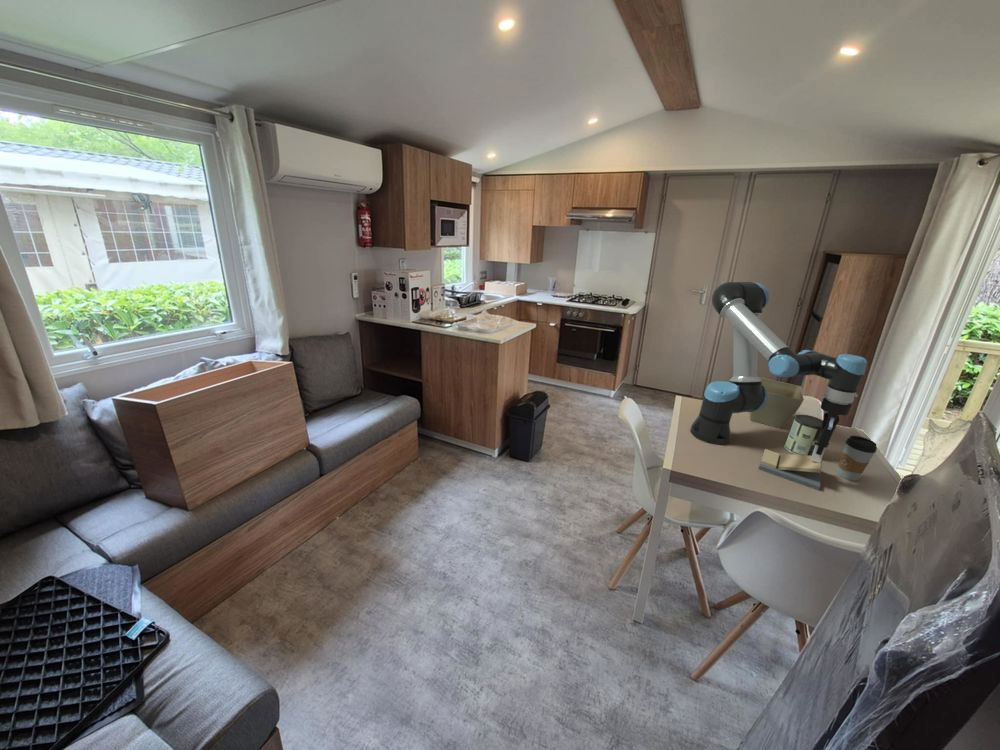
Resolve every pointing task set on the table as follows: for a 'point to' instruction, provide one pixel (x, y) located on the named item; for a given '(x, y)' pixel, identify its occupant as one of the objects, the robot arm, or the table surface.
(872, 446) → the coffee cup
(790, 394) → the flower pot
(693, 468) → the table surface
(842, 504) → the table surface
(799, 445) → the coffee can
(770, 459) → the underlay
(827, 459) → the table surface
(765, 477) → the table surface
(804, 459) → the plank
